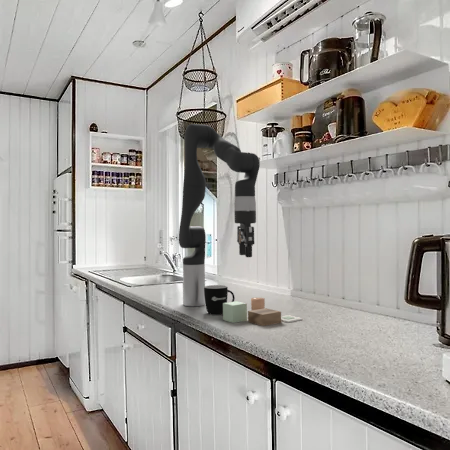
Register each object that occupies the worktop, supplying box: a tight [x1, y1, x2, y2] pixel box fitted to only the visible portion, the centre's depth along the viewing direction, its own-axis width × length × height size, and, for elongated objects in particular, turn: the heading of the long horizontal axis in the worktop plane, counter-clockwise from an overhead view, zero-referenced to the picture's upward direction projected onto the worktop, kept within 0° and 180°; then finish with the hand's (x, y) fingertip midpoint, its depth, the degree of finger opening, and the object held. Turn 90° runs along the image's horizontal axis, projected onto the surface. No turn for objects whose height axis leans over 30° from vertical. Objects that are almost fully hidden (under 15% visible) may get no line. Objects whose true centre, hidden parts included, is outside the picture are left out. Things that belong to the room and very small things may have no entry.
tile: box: [281, 314, 303, 323], centre depth 150 cm, size 7×7×1 cm
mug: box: [204, 284, 236, 316], centre depth 164 cm, size 12×9×10 cm
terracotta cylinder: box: [250, 297, 266, 311], centre depth 159 cm, size 5×5×6 cm
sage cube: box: [222, 300, 248, 323], centre depth 151 cm, size 6×6×6 cm
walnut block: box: [247, 307, 282, 327], centre depth 147 cm, size 8×8×4 cm
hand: (245, 256), depth 150 cm, fingers open, 8 cm apart
